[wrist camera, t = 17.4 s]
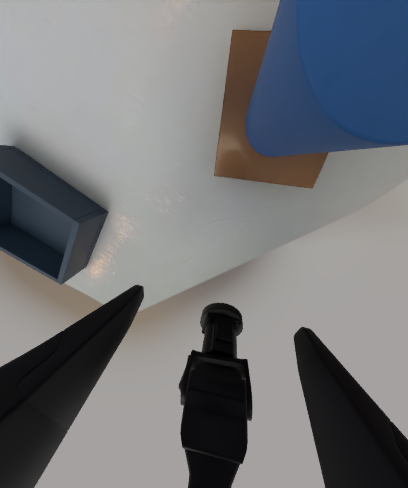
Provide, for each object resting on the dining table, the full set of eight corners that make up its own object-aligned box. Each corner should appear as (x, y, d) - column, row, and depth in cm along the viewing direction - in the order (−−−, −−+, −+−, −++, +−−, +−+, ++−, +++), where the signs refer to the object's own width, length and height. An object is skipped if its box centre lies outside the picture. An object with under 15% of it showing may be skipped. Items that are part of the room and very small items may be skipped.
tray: (108, 211, 22) (79, 223, 18) (86, 266, 29) (61, 285, 24) (13, 145, 20) (-45, 141, 16) (12, 221, 26) (-29, 233, 22)
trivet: (306, 186, 17) (312, 188, 15) (215, 174, 18) (214, 175, 16) (363, 49, 12) (379, 35, 10) (232, 42, 13) (232, 29, 11)
